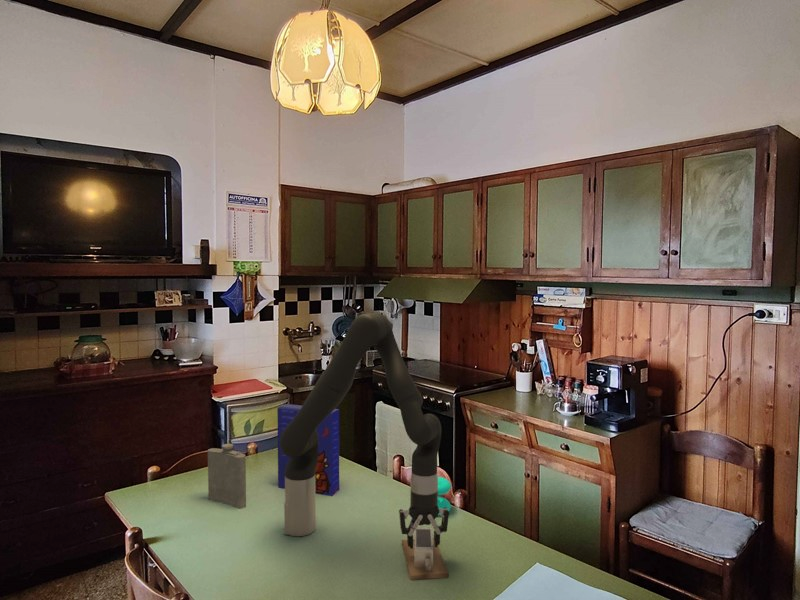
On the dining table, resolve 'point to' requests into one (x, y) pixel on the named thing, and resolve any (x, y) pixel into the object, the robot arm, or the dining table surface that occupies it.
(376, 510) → the dining table surface
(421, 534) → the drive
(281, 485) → the cereal box
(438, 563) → the pin tray
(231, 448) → the hip flask
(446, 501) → the donuts
